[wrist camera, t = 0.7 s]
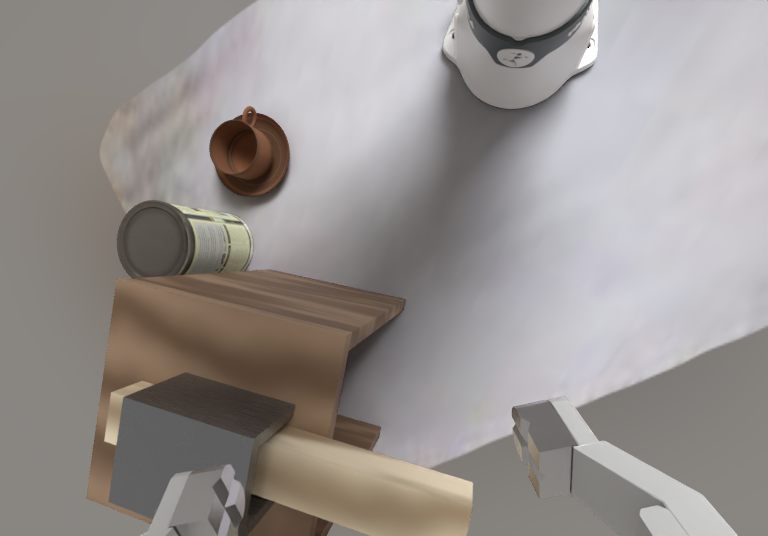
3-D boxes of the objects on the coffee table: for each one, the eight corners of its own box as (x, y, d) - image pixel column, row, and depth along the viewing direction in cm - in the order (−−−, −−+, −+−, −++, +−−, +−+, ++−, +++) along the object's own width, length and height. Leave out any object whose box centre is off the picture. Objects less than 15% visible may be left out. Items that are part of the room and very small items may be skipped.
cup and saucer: (217, 125, 61) (189, 111, 55) (290, 110, 59) (268, 93, 52) (226, 203, 61) (199, 197, 55) (298, 192, 59) (278, 184, 53)
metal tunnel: (185, 372, 33) (123, 396, 27) (295, 404, 31) (253, 439, 25) (171, 459, 34) (108, 501, 28) (279, 496, 32) (234, 551, 26)
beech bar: (142, 380, 34) (111, 392, 31) (472, 482, 28) (472, 508, 25) (135, 425, 34) (104, 441, 31) (461, 535, 28) (459, 567, 26)
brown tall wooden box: (269, 269, 60) (116, 279, 34) (405, 299, 55) (346, 335, 30) (247, 398, 61) (86, 498, 36) (379, 437, 57) (300, 583, 31)
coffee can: (201, 285, 62) (124, 293, 49) (189, 220, 63) (109, 210, 49) (260, 273, 60) (196, 278, 46) (248, 206, 60) (180, 191, 47)
